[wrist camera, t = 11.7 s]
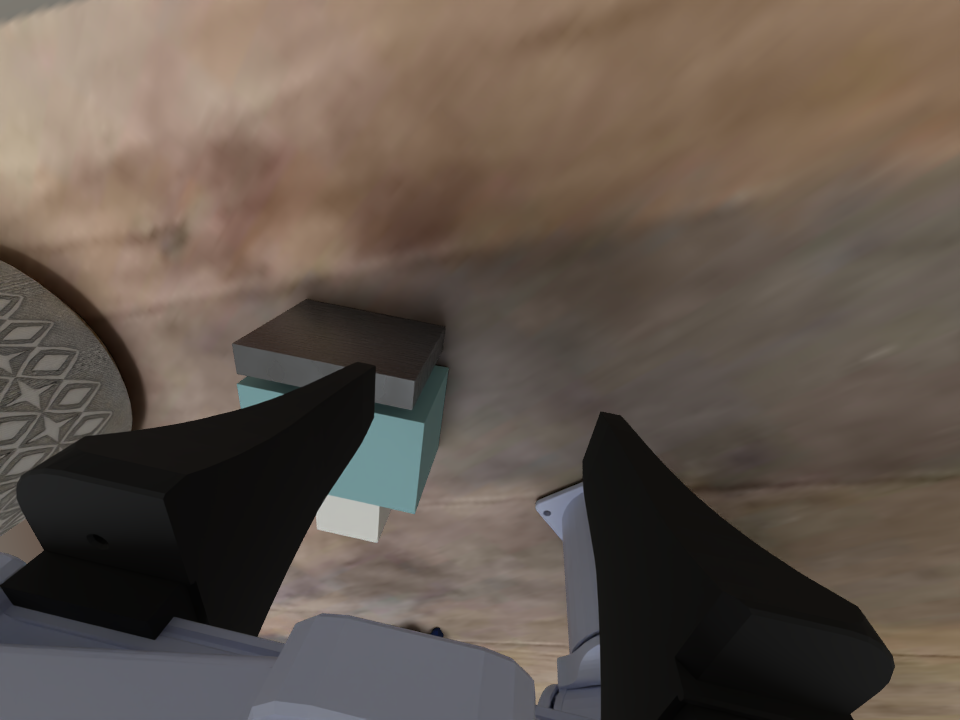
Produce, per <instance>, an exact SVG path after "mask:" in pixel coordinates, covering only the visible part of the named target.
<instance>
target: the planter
mask: <svg viewBox="0 0 960 720" xmlns="http://www.w3.org/2000/svg"><path fill="white" fill-rule="evenodd" d="M131 429H132V410H131V403H130V399H129V396H128V392H127V389H126V386H125V384H124V382H123V380H122V378H121V375H120V372H119V370H118V368H117V366H116V363H115V361H114V360H113V358H112V356H111V355H110V353H109V351H108V350H107V348H106V346H105V345H104V344H103V342H102V341H101V340H100V338H99V337H98V336H97V334H96V333H95V332H94V331H93V330H92V329H91V328H90V327H89V325H88V324H87V323H86V322H85V321H84V320H83V319H82V318H81V317H80V316H79V315H78V314H77V313H76V312H74V311H73V310H72V309H71V308H70V307H69V306H68V305H66V304H65V303H64V302H63V301H61V300H60V299H59V298H57V297H56V296H55V295H54V294H52V293H51V292H50V291H48V290H47V289H46V288H44V287H43V286H42V285H41V284H39V283H38V282H37V281H35V280H34V279H32V278H30V277H29V276H27V275H26V274H24V273H23V272H21V271H19V270H18V269H16V268H15V267H13V266H11V265H9V264H7V263H5V262H3V261H1V260H0V536H2V535H3V534H4V533H6V532H7V531H9V530H10V529H12V528H13V527H14V526H16V525H17V524H19V523H20V522H22V521H23V520H24V519H26V518H25V516H24V514H23V512H22V511H21V508H20V506H19V503H18V501H17V498H16V486H17V483H18V481H19V479H20V477H21V475H23V474H24V473H26V472H28V471H29V470H31V469H33V468H34V467H36V466H37V465H39V464H41V463H42V462H44V461H45V460H47V459H49V458H50V457H52V456H54V455H55V454H57V453H58V452H60V451H62V450H63V449H65V448H66V447H68V446H70V445H71V444H73V443H75V442H76V441H78V440H79V439H81V438H83V437H85V436H91V435H101V434H109V433H118V432H127V431H131Z"/></svg>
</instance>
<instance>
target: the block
mask: <svg viewBox="0 0 960 720" xmlns="http://www.w3.org/2000/svg"><path fill="white" fill-rule="evenodd" d="M448 370H449V368H447V367H442V366H437V365H435V366H434V368H433V370H432V372H431V374H430V376H429V378H428V380H427V382H426V384H425V386H424V388H423V390H422V392H421V394H420V396H419V398H418V400H417V402H416V404H415V406H414V408H413V410H408V409H403V408H398V407H394V406H389V405H384V404H379V403H375V410H374V419H373V421H372V423H371V426H370V428H369V430H368V432H367V434H366V436H365V438H364V440H363V442H362V444H361V445H360V447H359V449H358V450H357V452H356V453H355V455H354V456H353V458H352V459H351V461H350V462H349V464H348V465H347V467H346V468H345V470H344V471H343V473H342V474H341V476H340V477H339V479H338V480H337V482H336V483H335V485H334V486H333V488H332V489H331V491H330V492H329V494H328V495H331V496H336V497H340V498H345V499H349V500H354V501H358V502H363V503H367V504H372V505H376V506H381V507H385V508H390V509H394V510H399V511H403V512H408V513H412V514H415V512H416V509H417V506H418V503H419V501H420V498H421V495H422V492H423V489H424V486H425V484H426V481H427V478H428V475H429V472H430V469H431V467H432V464H433V461H434V458H435V455H436V452H437V450H438V445H439V438H440V430H441V423H442V415H443V408H444V400H445V392H446V385H447V377H448ZM237 388H238V394H239V400H240V406H241V409H243V408H246V407H249V406H252V405H255V404H258V403H261V402H264V401H267V400H270V399H273V398H276V397H278V396H281V395H283V394H285V393H288V392H290V391H293V390H295V389H298V388H300V387H298V386H293V385H288V384H284V383H279V382H274V381H269V380H264V379H260V378H255V377H250V376H247V377H246V378H244V379H243V380H241V381H240V382H239V383H237Z"/></svg>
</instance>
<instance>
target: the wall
mask: <svg viewBox="0 0 960 720" xmlns="http://www.w3.org/2000/svg"><path fill="white" fill-rule="evenodd" d="M444 334H445V327H444V326H439V325H434V324H429V323H424V322H419V321H414V320H409V319H403V318H398V317H393V316H388V315H383V314H378V313H373V312H368V311H363V310H358V309H353V308H348V307H343V306H338V305H333V304H327V303H322V302H317V301H312V300H307V299H306V300H304V301H302V302H301V303H299V304H297V305H296V306H294V307H292V308H291V309H289V310H287V311H286V312H284V313H282V314H281V315H279V316H277V317H276V318H274V319H272V320H271V321H269V322H267V323H266V324H264V325H262V326H261V327H259V328H257V329H256V330H254V331H252V332H251V333H249V334H247V335H246V336H244V337H242V338H241V339H239V340H237V341H236V342H234V343H232V346H233V353H234V359H235V365H236V371H237V374H240V375H245V376H250V377H255V378H260V379H264V380H269V381H274V382H279V383H284V384H288V385H293V386H298V387H303V386H305V385H307V384H309V383H312V382H314V381H316V380H318V379H320V378H323V377H325V376H327V375H329V374H331V373H333V372H335V371H337V370H340V369H342V368H344V367H346V366H348V365H351V364H353V363H356V362H361V363H366V364H371V365H376V379H375V403H379V404H384V405H389V406H394V407H398V408H403V409H408V410H413V408H414V406H415V404H416V402H417V400H418V398H419V396H420V394H421V392H422V390H423V388H424V386H425V384H426V382H427V380H428V378H429V376H430V374H431V372H432V370H433V368H434V366H435V364H436V363H437V361H438V359H439V357H440V355H441V353H442V350H443V342H444Z"/></svg>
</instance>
